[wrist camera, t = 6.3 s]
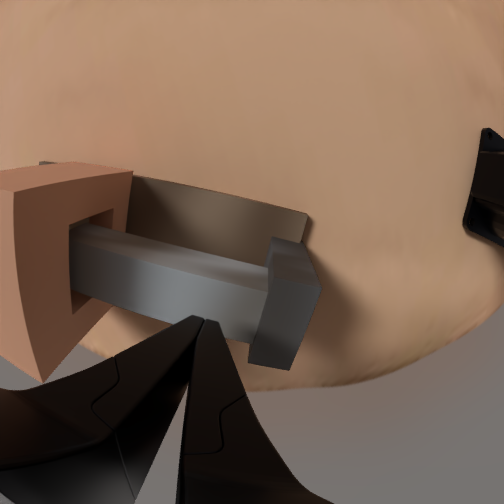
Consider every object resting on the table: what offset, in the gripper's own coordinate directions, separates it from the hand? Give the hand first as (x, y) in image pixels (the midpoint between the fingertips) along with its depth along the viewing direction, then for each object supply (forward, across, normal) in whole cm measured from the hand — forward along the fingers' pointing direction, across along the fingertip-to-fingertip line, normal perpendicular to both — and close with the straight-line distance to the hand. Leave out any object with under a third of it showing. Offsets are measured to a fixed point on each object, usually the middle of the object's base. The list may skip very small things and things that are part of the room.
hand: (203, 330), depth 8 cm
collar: (+6, +8, 0) cm, 10 cm away
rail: (+6, +5, 0) cm, 8 cm away
